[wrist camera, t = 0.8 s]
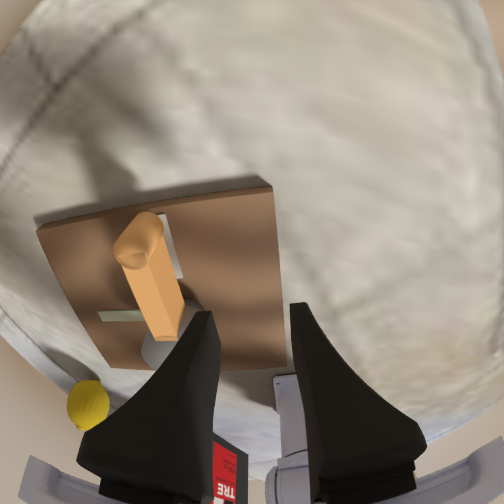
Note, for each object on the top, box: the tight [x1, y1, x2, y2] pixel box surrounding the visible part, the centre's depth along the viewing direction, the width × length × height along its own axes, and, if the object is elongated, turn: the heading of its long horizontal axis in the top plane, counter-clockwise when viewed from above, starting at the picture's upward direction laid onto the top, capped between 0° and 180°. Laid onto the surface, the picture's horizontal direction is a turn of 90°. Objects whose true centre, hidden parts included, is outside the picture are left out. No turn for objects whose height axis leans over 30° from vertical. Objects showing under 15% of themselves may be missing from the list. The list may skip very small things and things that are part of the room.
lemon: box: [67, 379, 110, 431], centre depth 28 cm, size 6×6×8 cm
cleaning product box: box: [209, 432, 248, 504], centre depth 32 cm, size 16×9×20 cm, turn 24°
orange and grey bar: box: [113, 212, 200, 371], centre depth 18 cm, size 12×5×3 cm, turn 7°
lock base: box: [36, 186, 287, 371], centre depth 22 cm, size 17×19×3 cm
